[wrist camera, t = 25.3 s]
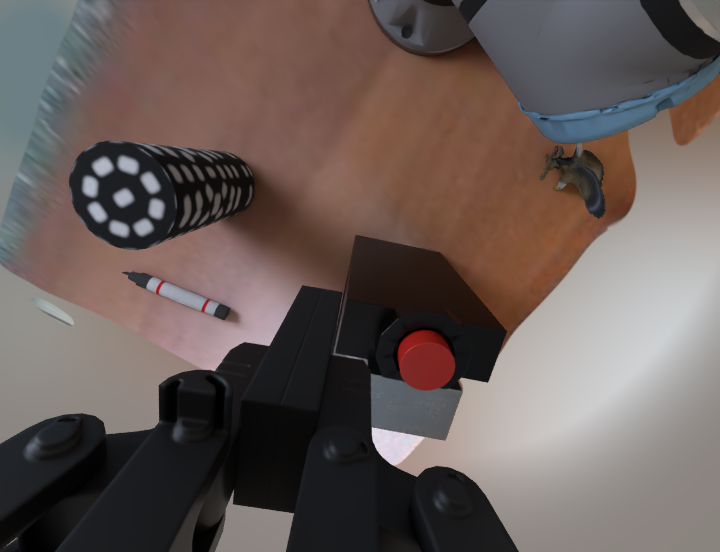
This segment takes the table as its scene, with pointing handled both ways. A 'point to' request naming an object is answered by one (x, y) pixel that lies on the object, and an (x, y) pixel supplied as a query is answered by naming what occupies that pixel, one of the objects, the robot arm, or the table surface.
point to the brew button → (425, 360)
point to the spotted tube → (155, 191)
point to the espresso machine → (408, 403)
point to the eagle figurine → (580, 176)
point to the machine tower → (414, 309)
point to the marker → (179, 294)
